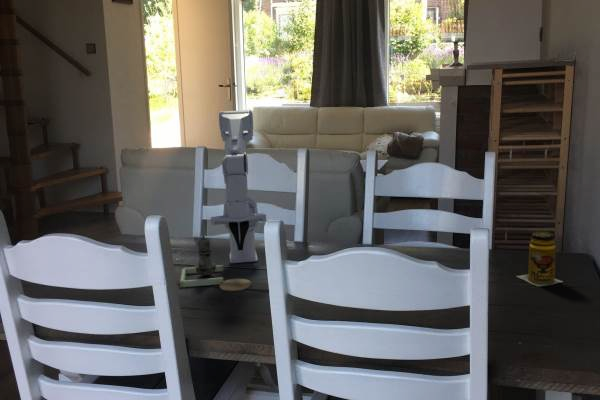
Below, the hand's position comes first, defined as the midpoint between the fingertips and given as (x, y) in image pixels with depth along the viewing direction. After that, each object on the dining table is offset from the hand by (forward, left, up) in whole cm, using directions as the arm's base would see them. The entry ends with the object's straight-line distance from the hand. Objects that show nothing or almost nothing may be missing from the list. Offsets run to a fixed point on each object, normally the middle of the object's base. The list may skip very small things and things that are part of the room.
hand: (240, 249), depth 162 cm
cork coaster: (+8, -2, -7) cm, 11 cm away
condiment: (+22, +73, -8) cm, 77 cm away
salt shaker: (0, -10, -8) cm, 12 cm away
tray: (0, -10, -7) cm, 12 cm away
